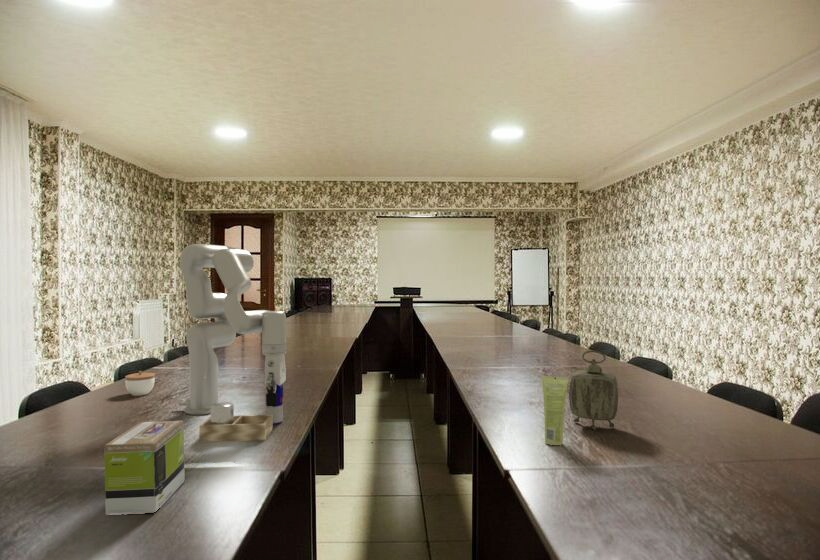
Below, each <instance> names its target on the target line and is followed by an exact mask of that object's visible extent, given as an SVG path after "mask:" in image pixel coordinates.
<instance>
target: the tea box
mask: <svg viewBox="0 0 820 560" xmlns="http://www.w3.org/2000/svg"><path fill="white" fill-rule="evenodd" d="M184 435H185V434H184V420H165V421H164V420H162V421H161V420H160V421H140V422H138V423H137V424H135V425H133V426H132V427H131V428H129V429H127V430H126V431H124V432H122V434H121V433H120V435H118V436H116V437H115V438H114V439H112V440H110V441H109V442H107V443H106V444H104V451H103V452H104V458H103V459H104V493H105V494H104V495H105V498H104V501H105V504H104V505H105V506H104V507H105V515H106V514H110V513H123V512H125V513H126V512H156V511H157V510H158V509H159V508H162V506H163V505H164V504H165V503H166V502H167V501H168V500H170V498H171V496H173V495H174V493H176V491H178V489H180V487H181V486H182V484H183V483H184V482H185V477H186V476H185V473H186V472H185V439H184V438H185V436H184ZM159 510H160V509H159ZM159 510H158V511H159ZM158 511H157V512H158ZM157 512H156V513H157Z"/></svg>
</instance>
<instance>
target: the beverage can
mask: <svg viewBox="0 0 820 560" xmlns="http://www.w3.org/2000/svg"><path fill="white" fill-rule="evenodd" d="M266 387H267V386H266V385H265V384H264V415H273V426H277V425H280V424H282V423H283V419H284V418H283V417H284V415H283V414H284V413H283V412H284V409H283V408H284V404H283V403H284V400H283V399H284V383H283V384H282V385H280V386H279V385H277V387H276V393H277V405H276V406H266ZM273 389H274V387H273Z"/></svg>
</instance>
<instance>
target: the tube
mask: <svg viewBox="0 0 820 560" xmlns="http://www.w3.org/2000/svg"><path fill="white" fill-rule="evenodd" d="M568 383H569V377H565V376H549V375H541V387H542V395H543V413H544V443H545V444H546V443H547V444H546V445H548V444H550V445H549V446H552V445H560V446H562V445H563V443H564V442H563V441H564V440H563V439H564V425H565V422H564V421H565V410H566V409H565V408H566V399H567V391H568V390H567V389H568ZM561 444H562V445H561Z"/></svg>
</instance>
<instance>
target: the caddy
mask: <svg viewBox="0 0 820 560" xmlns="http://www.w3.org/2000/svg"><path fill="white" fill-rule="evenodd" d="M273 426H274V425H273V415H265V414H249V415H248V414H238V415H237V414H236V415H235V414H234V423H233V424H218V425H211V416H209V417H208V418H207V419H206V420H204V421H203V422H202V423H201V424H199V426H198V429H199V433H198V434H199V435H198V436H199V443H201V442H202V443H205V442H241V441H243V442H245V441H250V442H251V441H266V440H267V438H268V437H269V435H270V434H271V432H272V431H273V429H274V428H273Z"/></svg>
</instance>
